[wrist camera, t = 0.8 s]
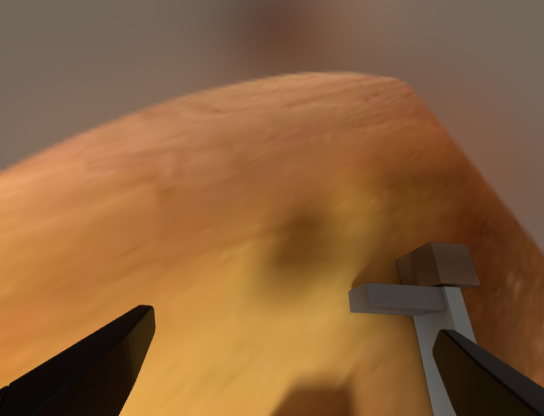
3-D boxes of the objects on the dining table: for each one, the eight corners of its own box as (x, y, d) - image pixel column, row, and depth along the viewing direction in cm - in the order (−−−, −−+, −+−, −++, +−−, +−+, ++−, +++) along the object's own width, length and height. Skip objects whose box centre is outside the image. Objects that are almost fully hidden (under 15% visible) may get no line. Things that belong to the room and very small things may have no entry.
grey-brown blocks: (518, 622, 15) (625, 718, 11) (468, 628, 14) (561, 729, 10) (427, 262, 24) (467, 244, 20) (396, 259, 24) (430, 241, 20)
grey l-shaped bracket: (457, 449, 18) (514, 471, 14) (360, 450, 17) (396, 475, 13) (422, 298, 22) (460, 287, 19) (344, 293, 22) (368, 281, 18)
